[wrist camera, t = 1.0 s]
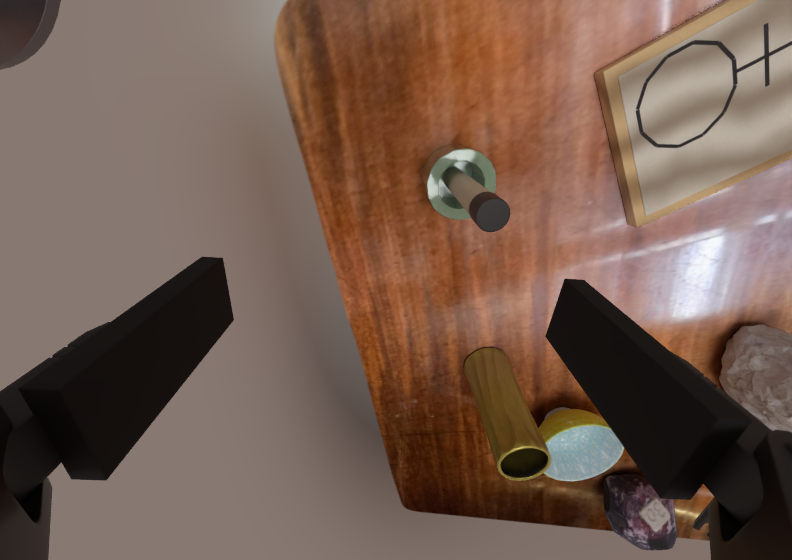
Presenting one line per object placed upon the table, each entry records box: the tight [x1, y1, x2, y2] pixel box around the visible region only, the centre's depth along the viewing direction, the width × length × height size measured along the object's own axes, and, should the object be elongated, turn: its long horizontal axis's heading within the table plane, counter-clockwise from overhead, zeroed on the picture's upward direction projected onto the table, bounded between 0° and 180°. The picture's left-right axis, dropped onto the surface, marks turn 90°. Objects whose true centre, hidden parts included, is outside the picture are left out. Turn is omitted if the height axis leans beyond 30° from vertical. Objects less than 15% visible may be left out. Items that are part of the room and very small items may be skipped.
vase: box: [464, 348, 551, 481], centre depth 38 cm, size 6×6×14 cm
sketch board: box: [594, 0, 792, 228], centre depth 30 cm, size 16×20×2 cm
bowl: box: [538, 407, 624, 481], centre depth 46 cm, size 11×12×6 cm
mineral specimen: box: [603, 474, 677, 550], centre depth 52 cm, size 10×10×10 cm
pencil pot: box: [422, 144, 496, 220], centre depth 31 cm, size 6×6×6 cm
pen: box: [443, 167, 510, 232], centre depth 26 cm, size 2×2×15 cm
